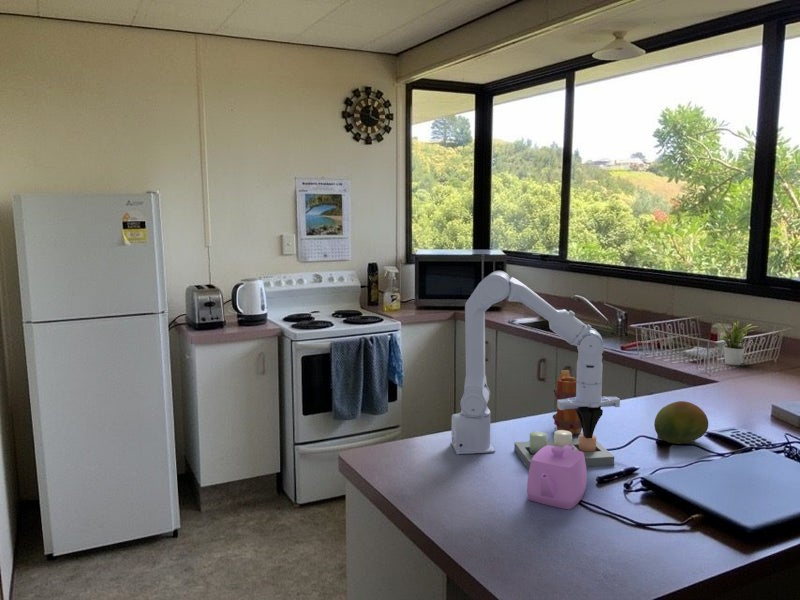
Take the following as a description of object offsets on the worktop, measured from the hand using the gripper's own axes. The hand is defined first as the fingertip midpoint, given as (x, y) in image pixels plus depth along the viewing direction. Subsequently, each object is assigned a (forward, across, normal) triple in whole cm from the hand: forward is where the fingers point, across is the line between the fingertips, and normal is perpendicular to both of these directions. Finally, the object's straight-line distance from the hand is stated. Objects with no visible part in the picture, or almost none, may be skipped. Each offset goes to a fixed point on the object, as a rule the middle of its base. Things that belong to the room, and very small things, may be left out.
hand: (587, 436), depth 152 cm
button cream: (+3, -6, 0) cm, 7 cm away
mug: (+5, +2, +18) cm, 19 cm away
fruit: (+5, +26, +5) cm, 27 cm away
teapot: (+5, -14, -19) cm, 24 cm away
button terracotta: (+4, 0, 0) cm, 4 cm away
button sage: (+3, -12, 0) cm, 12 cm away
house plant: (+5, +87, +74) cm, 114 cm away
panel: (+5, -6, 0) cm, 8 cm away
